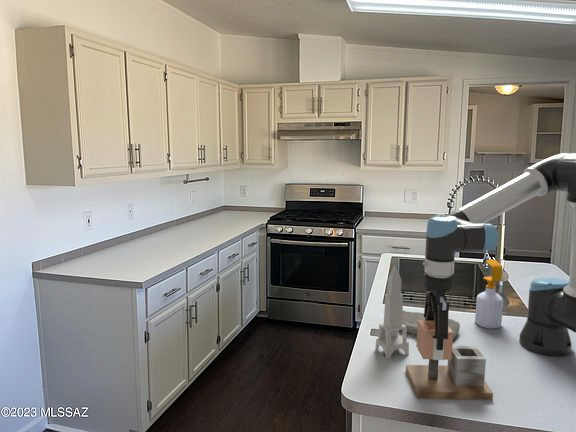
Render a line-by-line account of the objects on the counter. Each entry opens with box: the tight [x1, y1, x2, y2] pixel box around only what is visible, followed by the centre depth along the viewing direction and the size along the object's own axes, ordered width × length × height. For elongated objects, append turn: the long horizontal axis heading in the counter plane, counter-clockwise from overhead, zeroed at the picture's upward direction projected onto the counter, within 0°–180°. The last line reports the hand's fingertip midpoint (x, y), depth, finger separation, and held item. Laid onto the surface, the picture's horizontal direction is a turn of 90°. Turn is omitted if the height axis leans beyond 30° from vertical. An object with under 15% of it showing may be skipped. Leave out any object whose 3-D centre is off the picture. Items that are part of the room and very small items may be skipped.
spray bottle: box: [474, 259, 504, 330], centre depth 162 cm, size 9×9×25 cm
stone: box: [402, 310, 461, 340], centre depth 160 cm, size 26×4×15 cm
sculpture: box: [375, 263, 410, 360], centre depth 141 cm, size 7×8×30 cm
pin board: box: [405, 345, 494, 401], centre depth 124 cm, size 20×14×10 cm
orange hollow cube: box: [415, 320, 454, 361], centre depth 122 cm, size 8×8×8 cm
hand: (433, 351), depth 123 cm, fingers closed on orange hollow cube, 8 cm apart
